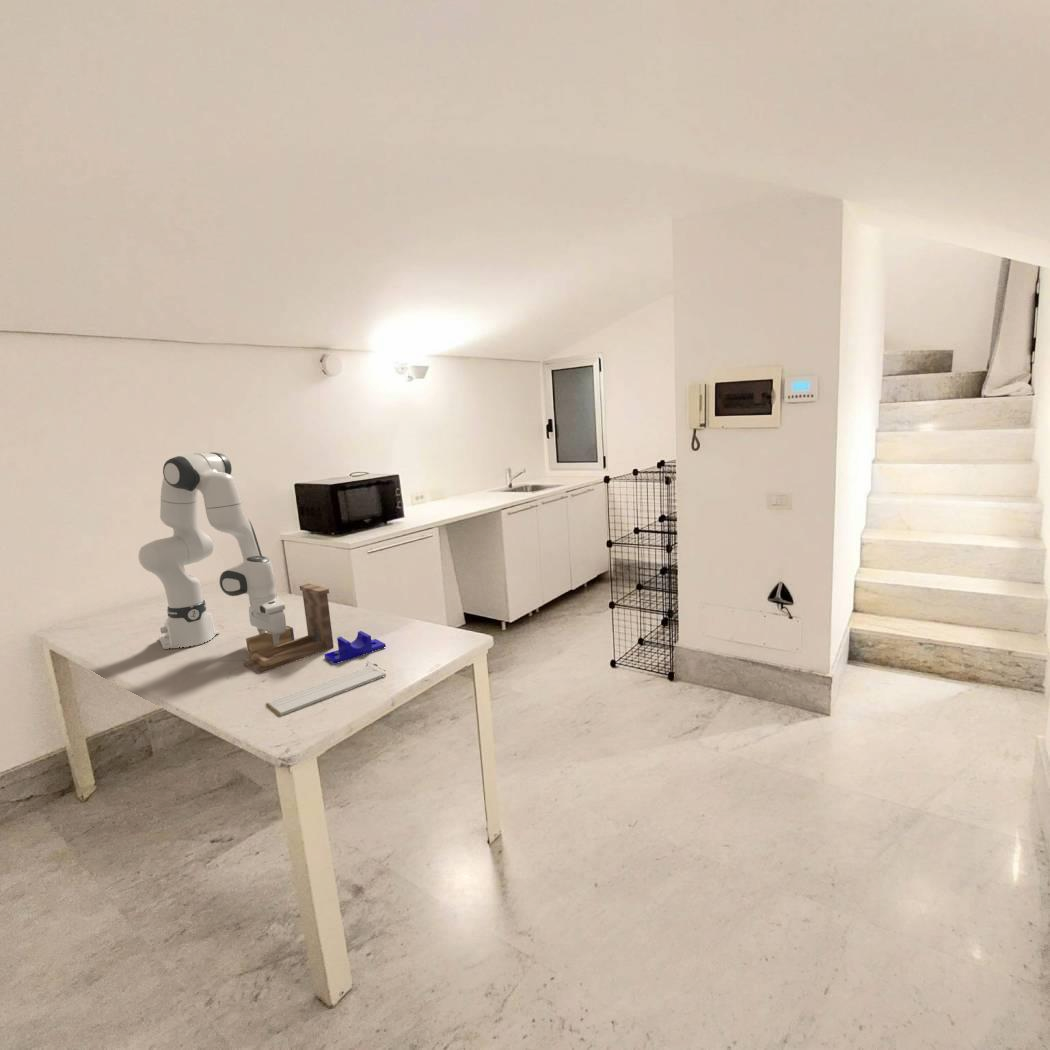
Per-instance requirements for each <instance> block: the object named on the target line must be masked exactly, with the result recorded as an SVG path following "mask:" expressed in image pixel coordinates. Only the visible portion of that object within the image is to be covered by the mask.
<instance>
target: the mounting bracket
mask: <svg viewBox="0 0 1050 1050" xmlns="http://www.w3.org/2000/svg"><path fill="white" fill-rule="evenodd" d="M336 640H337V648H338V649H337V650H335V651H334V650H333V651H330V652H327V653H324V655H323V656H324V659H325V658H326V659H325V660H326V661H328V662H330V663H331V662H332V663H331V664H333V665H336V664H339V663H338V662H340V663H342V662H341V661H343V662H345V660H346V661H348V659H349V660H352V659H355V658H359V657H361V655H362V656H364V655H363V654H365V655H367V654H366V653H368V654H371V653H373V652H372V651H374V652H376V651H375V650H378V649H381V648H384V647H386V648H387V646H386V643H385V642H382V641H381V640H379V639H377V638H373V639H372V636H371V635H370V634H368V633H366V632H364V631H362V630H360V631H359V630H358V631H357V636H356V638H355V639H354V640H353V641H351V642H350V641H349V640H347V639H345V638H343V637H342V636H339V637H337V638H336ZM384 649H385V648H384ZM381 650H382V649H381ZM378 651H379V650H378ZM370 652H371V653H370ZM358 656H359V657H358ZM354 657H355V658H354ZM335 663H336V664H335Z"/></svg>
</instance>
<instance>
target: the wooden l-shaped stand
mask: <svg viewBox="0 0 1050 1050" xmlns="http://www.w3.org/2000/svg"><path fill="white" fill-rule="evenodd" d="M299 591H301V593H302V599H303V606H304V614H305V622H306V630H307V631H306V632H307V635H305V636H302V637H299V638H296V639H294V640H293V641H290V642H286V643H283V644H280V645H277V646H274V647H271V648H268V649H265V650H262V651H259V652H256V653H253V654H250V653H249V654H250V659H247V660H244V661H243V665H244V666H246V667H248V668H250V669H251V670H254V671H255V672H258V673H259V674H263V673H265V671H266V672H269V671H272V670H274V669H277V668H280V667H282V665H283V666H285V664H286V665H288V664H291V663H294V662H297V661H300V660H302V658H303V659H305V658H308V657H310V655H311V656H313V654H314V655H316V653H317V654H319V653H322V652H325V651H327V649H328V650H331V649H334V648H335V646H334V638H333V630H332V623H331V616H330V615H331V614H330V606H329V599H328V594H330V590H329V588H328V587H327V588H326V587H324V586H321V585H315V584H313V583H312V584H311V583H306V584H303V585H299ZM333 647H334V648H333ZM330 648H331V649H330ZM318 652H319V653H318ZM307 656H308V657H307ZM304 657H305V658H304ZM299 659H300V660H299ZM296 660H297V661H296ZM290 662H291V663H290ZM268 670H269V671H268ZM262 672H263V673H262Z"/></svg>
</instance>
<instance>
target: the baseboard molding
mask: <svg viewBox="0 0 1050 1050" xmlns="http://www.w3.org/2000/svg"><path fill="white" fill-rule="evenodd" d="M368 664H369V665H368ZM370 664H371V665H370ZM376 667H377V668H376ZM379 669H380V670H379ZM381 670H382V671H381ZM386 675H387V673H386V669H385V670H384V669H382V668H380V667H379V666H378V664H377V663H370V662H369V661H367V664H366V666H365V667H361V668H359V669H355V670H354V671H351V672H348V673H345V674H342V675H340V676H336V677H333V678H330V679H328V680H326V681H323V682H320V683H316V684H314V685H312V686H309V687H306V688H303V689H300V690H298V691H295V692H292V693H289V694H286V695H284V696H281V697H278V698H276V699H273V700H270V701H266V702H265V704H266V705H267V704H268V705H269V706H270V708H271V709H272V710H273V711H274V710H275V713H277V714H278V715H279V716H280V717H283V716H284V715H287V714H290V713H292V712H295V711H298V710H300V709H303V708H306V707H309V706H311V705H314V704H316V703H318V701H319V702H321V701H324V700H326V699H325V698H327V699H329V698H331V697H330V696H332V697H334V696H333V695H335V696H337V695H339V694H338V693H340V694H342V693H341V692H343V691H345V692H347V691H346V690H348V691H350V690H352V689H351V688H353V689H355V688H354V687H356V688H358V687H360V686H359V685H361V686H363V685H362V684H364V683H366V684H368V683H367V682H369V683H371V682H370V681H372V680H374V681H376V680H375V679H377V678H379V679H381V678H380V677H382V678H384V677H383V676H385V677H386ZM377 680H378V679H377ZM372 682H373V681H372ZM364 685H365V684H364ZM357 686H358V687H357ZM349 689H350V690H349ZM343 693H344V692H343ZM336 694H337V695H336ZM328 697H329V698H328ZM323 699H324V700H323ZM320 700H321V701H320ZM315 702H316V703H315ZM313 703H314V704H313ZM310 704H311V705H310ZM268 705H267V706H268ZM269 706H268V707H269Z"/></svg>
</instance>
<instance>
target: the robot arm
mask: <svg viewBox="0 0 1050 1050" xmlns="http://www.w3.org/2000/svg"><path fill="white" fill-rule="evenodd" d="M162 474H163V475H162V476H163V478H162V483H161V487H160V489H161V490H160V508H159V509H160V510H159V511H160V512H159V513H160V514H159V515H160V516H159V517H160V520H161V522H162V523H163V524H164V525H166V526H167V527H170V528H172V531H173V535H172V536H169V537H164V538H159V539H155V540H153V541H150V542H148V543H146V544H144V545H143V546H141V547H140V549H139V552H138V561H139V564H140V565H141V566H142V568H143V569H144V570H146V571H148V572H149V573H152V574H153V575H155V576H156V577H157V578H158V579H159V580H160V581H161V583H162V585H163V588H164V591H165V595H166V600H167V605H168V606H167V611H166V612H167V619H166V620H165V622H164V623H163V624H164V626H161V627H160V628H159V629H160V633H161V634H163V635H160V636H159V638H158V640H159V642H160V644H161V647H162V649H163V650H170V649H183V648H182V647H184V648H189V646H191V647H195V646H199V645H201V644H204V642H205V643H207V641H208V642H210V641H211V640H213V639H214V638H215V637H216V636H217V635H216V634H218V633H219V634H220V630H218V629H215V625H214V621H213V617H212V614H211V613H210V612H208V611H207V604H206V600H204V596H203V591H202V583H201V580H200V579H199V578H197V577H196V576H194V575H190V574H188V573H187V572H186V569H185V566H188V565H191V564H195V563H198V562H201V561H203V560H205V559H207V558H208V557H210V556H211V555H212V554H213V551H214V542H213V540H212V538H211V536H209V534H207V533H206V532H204V531H203V530H202V528H201V527H200V524H199V522H198V520H199V519H198V491H199V492H200V493H201V494H202V497H203V502H204V507H205V513H206V518H207V521H208V523H209V525H210V526H211V527H213V529H215V530H217V531H219V532H221V533H226V534H230V535H231V536H233V537H234V538H235V539H236V541H237V543H238V547H239V549H240V552H241V554H242V555H241V556H242V559H243V561H242V562H241V563H240V564H237V565H235V566H233V567H230V568H228V569H226V570H225V571H223V572H222V573H221V574H220V576H219V587H220V589H221V590H222V592H223V593H225V594H226V595H227V596H230V597H237V596H241V595H246V594H247V596H248V600H249V607H248V616H249V623H250V625H251V626H252V627H255V628H256V631H257V632H258V635H259V634H263V633H266V632H269V633H272V636H273V640H272V644H273V645H278V644H279V637H280V634H282V633H285V631H286V626H287V621H286V620H287V619H286V614H285V611H284V610H286V606H285V603H284V602H283V601H282V600H281V599H280V598H279V596H278V593H277V589H276V586H275V585H276V584H275V583H276V578H275V577H276V576H275V572H274V567H273V563H272V561H271V560H270V558H269V557H267V556H263V555H262V551H261V548H260V545H259V542H258V539H257V536H256V533H255V530H254V527H253V524H252V522H251V521H250V519H248V517H247V516H246V513H245V511H244V507H243V504H242V498H241V494H240V491H239V488H238V486H237V483H236V480H235V478H234V477H233V476H232V464H231V461H230V459H229V458H228V457H227V456H226V455H225V454H222V453H218V452H214V451H213V452H210V453H209V452H197V453H193V454H186V455H182V456H181V455H177V456H174V457H172V458H169V459H168V460H166V461H165V463H164V465H163V468H162ZM219 634H218V635H219ZM215 635H216V636H215ZM214 636H215V637H214ZM213 637H214V638H213ZM212 638H213V639H212ZM209 640H210V641H209ZM194 645H195V646H194ZM179 647H180V648H179ZM169 648H170V649H169Z"/></svg>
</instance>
